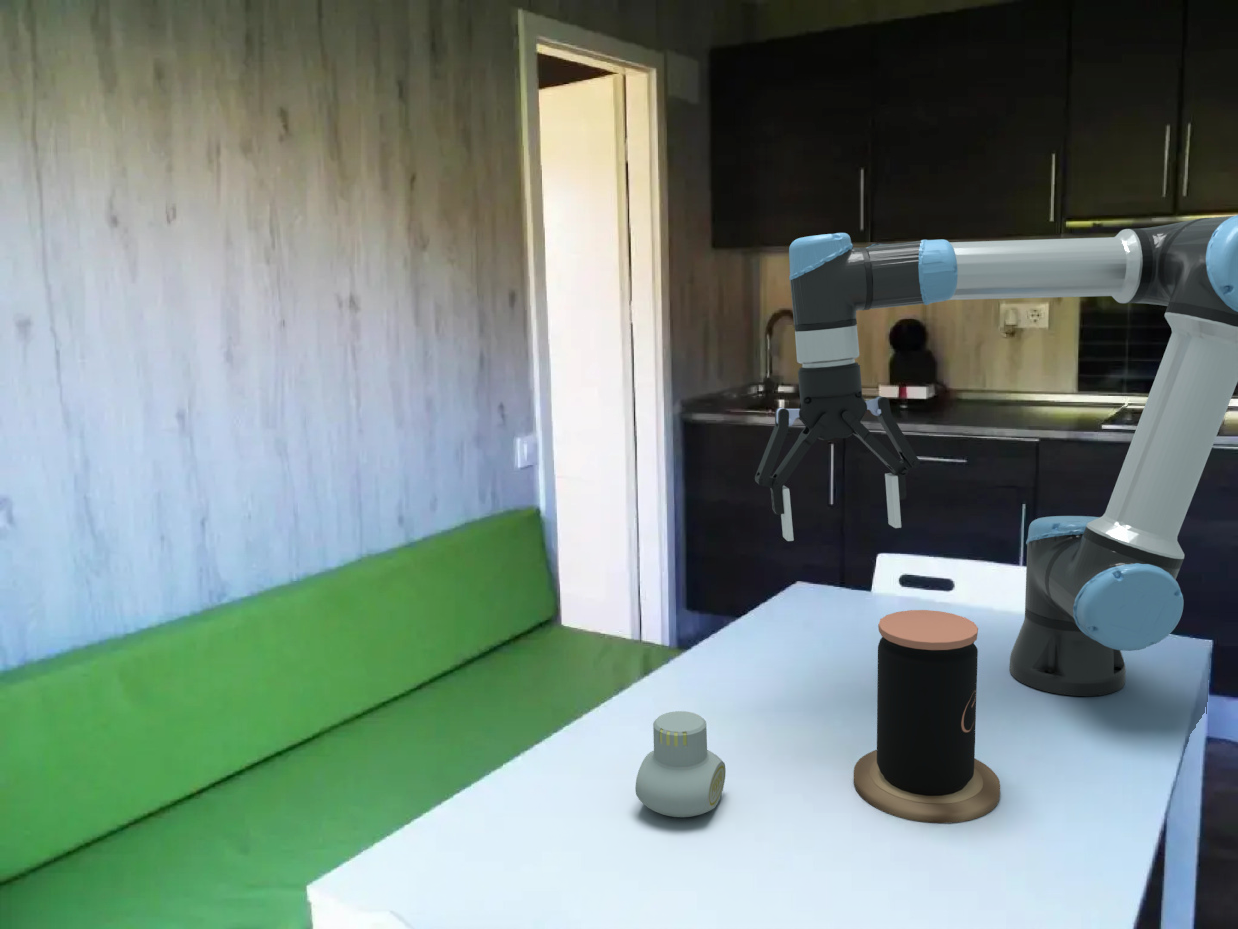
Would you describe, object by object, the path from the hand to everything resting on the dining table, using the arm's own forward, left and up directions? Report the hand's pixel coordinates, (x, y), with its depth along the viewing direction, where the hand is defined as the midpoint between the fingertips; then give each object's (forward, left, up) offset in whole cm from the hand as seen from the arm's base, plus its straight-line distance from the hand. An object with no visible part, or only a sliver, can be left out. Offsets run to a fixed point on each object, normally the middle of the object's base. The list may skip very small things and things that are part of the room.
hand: (841, 532), depth 132 cm
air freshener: (+23, +18, -26) cm, 39 cm away
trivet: (-5, +17, -26) cm, 31 cm away
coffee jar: (-5, +17, -25) cm, 30 cm away
